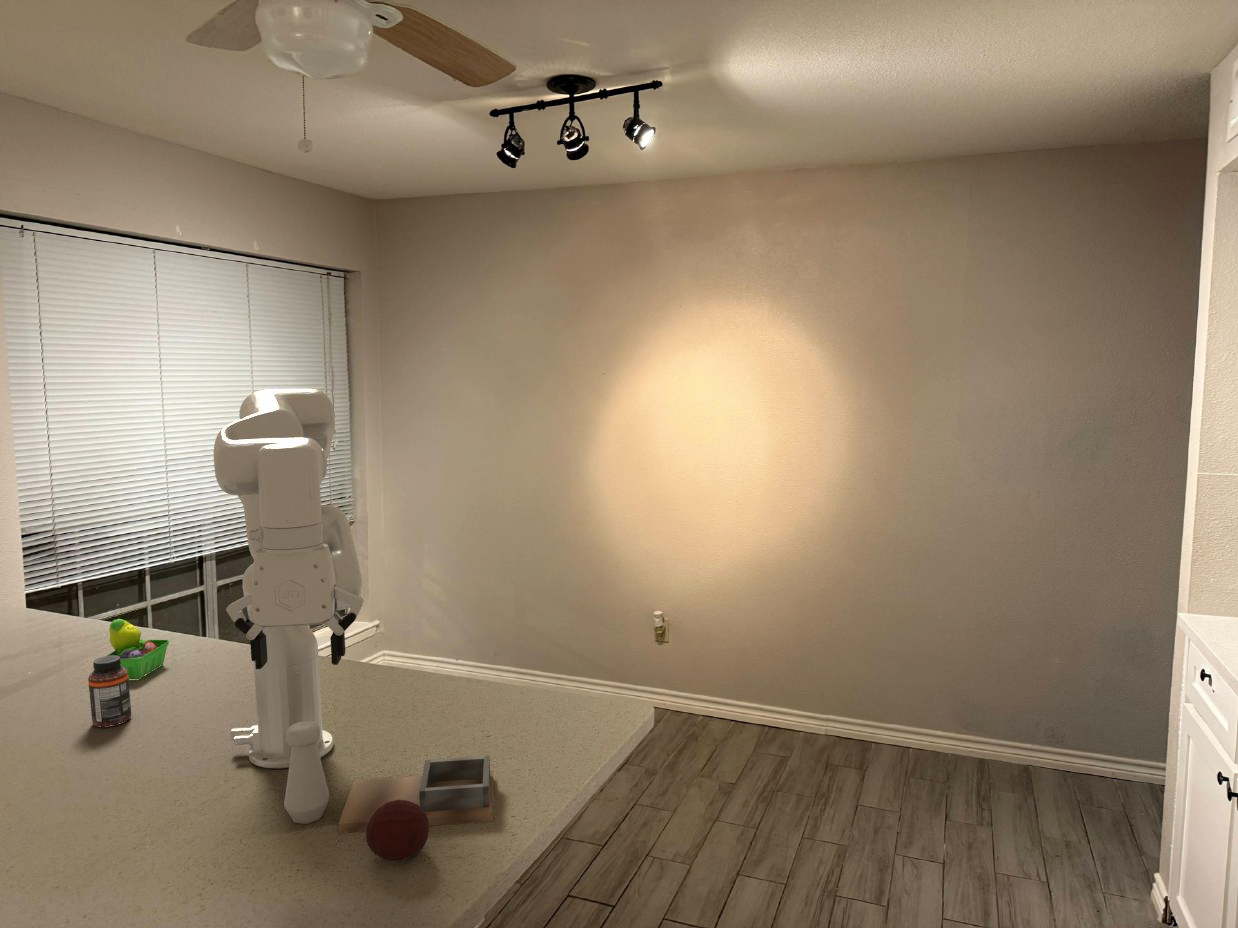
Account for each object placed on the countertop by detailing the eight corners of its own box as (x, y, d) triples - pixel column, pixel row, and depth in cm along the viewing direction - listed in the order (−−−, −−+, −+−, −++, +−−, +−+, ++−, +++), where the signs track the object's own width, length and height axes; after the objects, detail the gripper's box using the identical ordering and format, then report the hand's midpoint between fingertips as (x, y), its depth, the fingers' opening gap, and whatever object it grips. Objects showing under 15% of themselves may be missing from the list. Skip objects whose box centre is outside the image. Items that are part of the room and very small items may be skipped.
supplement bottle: (97, 717, 151) (91, 655, 150) (135, 712, 153) (130, 651, 152) (87, 730, 146) (82, 666, 144) (127, 725, 148) (122, 662, 146)
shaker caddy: (338, 832, 113) (337, 802, 113) (354, 788, 125) (352, 760, 124) (492, 820, 116) (491, 790, 115) (493, 778, 127) (492, 751, 127)
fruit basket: (141, 683, 168) (137, 627, 166) (96, 683, 168) (92, 627, 166) (172, 663, 179) (169, 610, 178) (130, 663, 179) (126, 610, 178)
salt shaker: (315, 829, 114) (310, 735, 112) (276, 825, 115) (270, 732, 114) (337, 807, 120) (333, 717, 118) (300, 803, 121) (295, 714, 119)
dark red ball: (425, 871, 104) (423, 816, 103) (360, 875, 104) (358, 819, 103) (433, 838, 112) (432, 786, 111) (373, 841, 111) (370, 789, 110)
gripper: (213, 545, 108) (222, 677, 110) (355, 540, 110) (361, 669, 112) (232, 534, 115) (240, 658, 117) (364, 529, 118) (370, 650, 120)
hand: (299, 663), depth 115 cm, fingers open, 9 cm apart
